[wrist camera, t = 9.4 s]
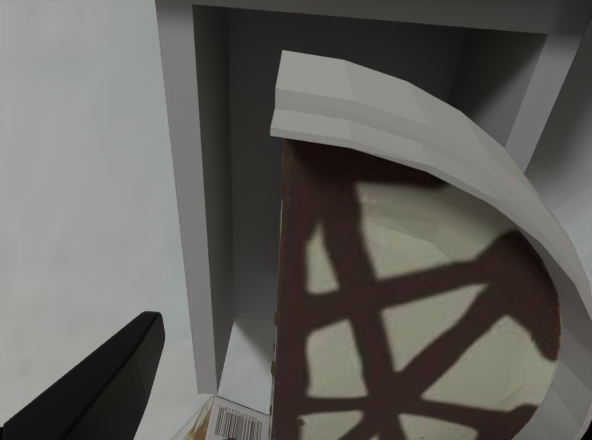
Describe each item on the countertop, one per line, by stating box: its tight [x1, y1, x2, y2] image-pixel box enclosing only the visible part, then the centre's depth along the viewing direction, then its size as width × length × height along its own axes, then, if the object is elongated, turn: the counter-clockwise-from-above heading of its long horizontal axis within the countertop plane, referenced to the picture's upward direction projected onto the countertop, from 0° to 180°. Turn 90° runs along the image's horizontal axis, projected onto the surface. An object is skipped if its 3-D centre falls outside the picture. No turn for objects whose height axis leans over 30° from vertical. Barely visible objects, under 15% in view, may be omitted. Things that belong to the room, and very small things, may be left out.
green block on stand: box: [155, 0, 592, 394], centre depth 11 cm, size 12×21×6 cm, turn 176°
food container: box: [268, 50, 592, 440], centre depth 11 cm, size 12×6×10 cm, turn 176°
